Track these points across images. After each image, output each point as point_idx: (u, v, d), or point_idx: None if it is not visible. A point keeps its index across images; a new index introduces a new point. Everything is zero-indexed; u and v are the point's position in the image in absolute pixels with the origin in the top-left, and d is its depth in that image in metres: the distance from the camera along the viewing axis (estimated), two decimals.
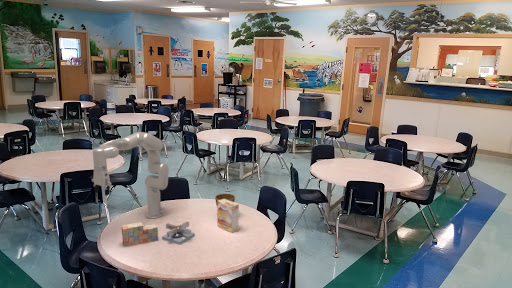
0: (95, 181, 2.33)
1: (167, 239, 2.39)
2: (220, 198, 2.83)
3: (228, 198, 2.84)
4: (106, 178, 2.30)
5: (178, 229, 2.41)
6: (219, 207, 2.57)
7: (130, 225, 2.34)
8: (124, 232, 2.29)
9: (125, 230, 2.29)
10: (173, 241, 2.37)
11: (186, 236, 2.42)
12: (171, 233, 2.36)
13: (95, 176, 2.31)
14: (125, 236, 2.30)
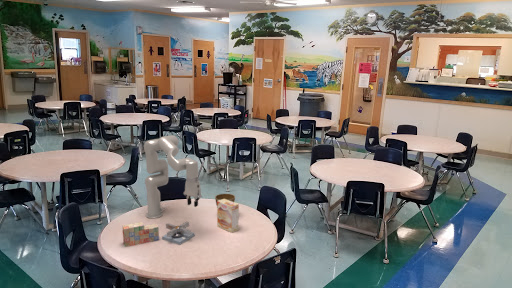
0: (187, 192, 2.42)
1: (167, 239, 2.39)
2: (220, 198, 2.83)
3: (228, 198, 2.84)
4: (198, 189, 2.39)
5: (178, 229, 2.41)
6: (219, 207, 2.57)
7: (131, 225, 2.34)
8: (125, 232, 2.29)
9: (126, 230, 2.29)
10: (173, 241, 2.37)
11: (186, 236, 2.42)
12: (171, 233, 2.36)
13: (187, 187, 2.41)
14: (126, 236, 2.30)
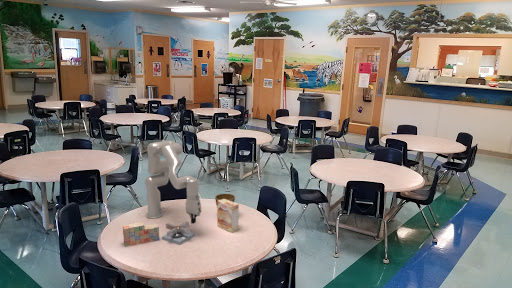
0: (187, 210, 2.44)
1: (167, 239, 2.39)
2: (220, 198, 2.83)
3: (228, 198, 2.84)
4: (199, 207, 2.42)
5: (178, 229, 2.41)
6: (219, 207, 2.57)
7: (131, 225, 2.34)
8: (125, 232, 2.30)
9: (126, 230, 2.30)
10: (173, 241, 2.37)
11: (186, 236, 2.42)
12: (171, 233, 2.36)
13: (188, 205, 2.43)
14: (126, 236, 2.30)
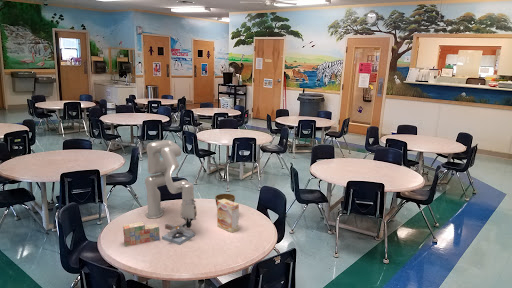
0: (183, 214, 2.46)
1: (167, 239, 2.39)
2: (220, 198, 2.83)
3: (228, 198, 2.84)
4: (195, 211, 2.45)
5: (178, 229, 2.41)
6: (219, 207, 2.57)
7: (132, 225, 2.34)
8: (126, 232, 2.30)
9: (127, 230, 2.30)
10: (173, 241, 2.37)
11: (186, 236, 2.42)
12: (172, 233, 2.36)
13: (183, 210, 2.45)
14: (127, 235, 2.31)
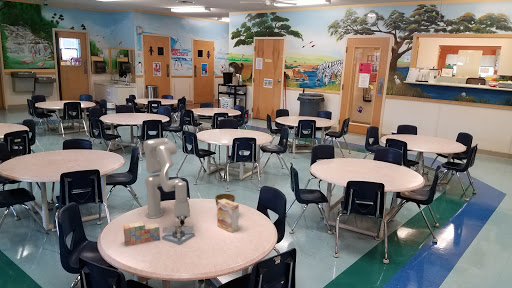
0: (177, 213, 2.47)
1: (167, 239, 2.39)
2: (220, 198, 2.83)
3: (228, 198, 2.84)
4: (189, 208, 2.49)
5: (180, 228, 2.42)
6: (219, 207, 2.57)
7: (132, 224, 2.35)
8: (126, 231, 2.30)
9: (127, 229, 2.30)
10: (173, 241, 2.37)
11: (186, 236, 2.42)
12: (180, 233, 2.36)
13: (177, 208, 2.46)
14: (127, 235, 2.31)
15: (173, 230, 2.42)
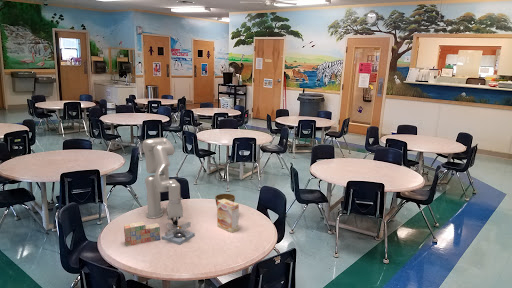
0: (172, 215, 2.45)
1: (167, 239, 2.39)
2: (220, 198, 2.83)
3: (228, 198, 2.84)
4: None
5: (181, 228, 2.44)
6: (219, 207, 2.57)
7: (132, 224, 2.35)
8: (126, 231, 2.30)
9: (127, 229, 2.30)
10: (173, 241, 2.37)
11: (186, 236, 2.42)
12: None
13: (172, 210, 2.45)
14: (127, 235, 2.31)
15: (175, 231, 2.41)
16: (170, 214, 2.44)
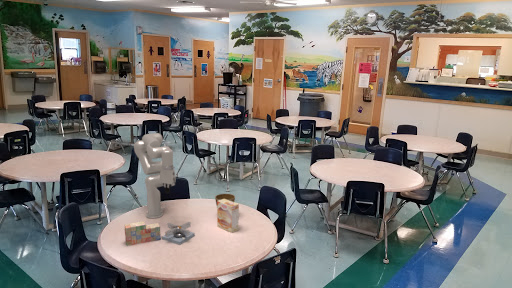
0: (162, 180, 2.51)
1: (167, 239, 2.39)
2: (220, 198, 2.83)
3: (228, 198, 2.84)
4: (173, 177, 2.50)
5: (181, 228, 2.44)
6: (219, 207, 2.57)
7: (133, 224, 2.35)
8: (127, 231, 2.31)
9: (128, 229, 2.31)
10: (173, 241, 2.37)
11: (186, 236, 2.42)
12: None
13: (162, 175, 2.50)
14: (128, 235, 2.32)
15: (175, 231, 2.41)
16: (160, 178, 2.51)
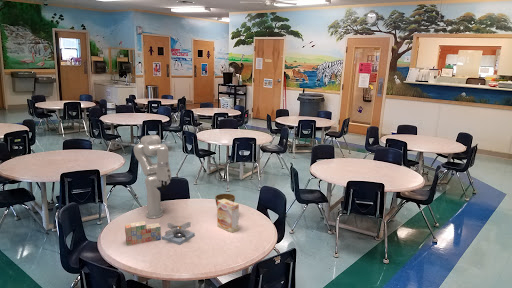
0: (158, 176, 2.54)
1: (167, 239, 2.39)
2: (220, 198, 2.83)
3: (228, 198, 2.84)
4: (168, 174, 2.51)
5: (181, 228, 2.44)
6: (219, 207, 2.57)
7: (133, 224, 2.35)
8: (127, 231, 2.31)
9: (128, 229, 2.31)
10: (173, 241, 2.37)
11: (186, 236, 2.42)
12: None
13: (158, 172, 2.52)
14: (128, 235, 2.32)
15: (175, 231, 2.41)
16: (157, 175, 2.54)
